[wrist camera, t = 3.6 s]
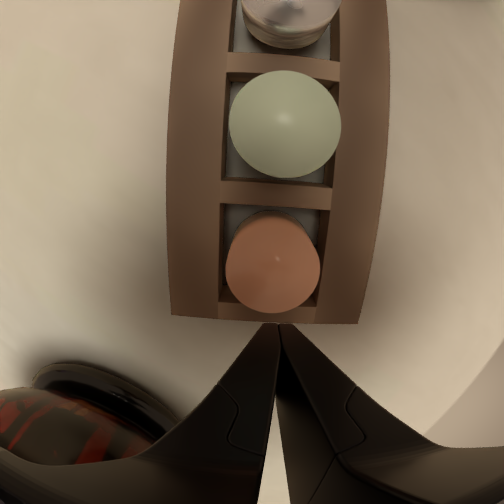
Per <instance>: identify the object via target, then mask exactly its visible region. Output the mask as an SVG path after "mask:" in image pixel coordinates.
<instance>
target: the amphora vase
mask: <svg viewBox="0 0 504 504" xmlns="http://www.w3.org/2000/svg"><path fill="white" fill-rule="evenodd" d="M179 422H180V421H179V420H178V419H177V418H176V417H175V416H174V415H173V414H172V413H171V412H170V411H169V410H168V409H167V408H166V407H165V406H163V405H162V404H160V403H159V402H158V401H156V400H155V399H154V398H153V397H151V396H150V395H149V394H147V393H146V392H144V391H142V390H140V389H138V388H137V387H135V386H133V385H131V384H130V383H128V382H126V381H125V380H123V379H120V378H118V377H115V376H113V375H111V374H108V373H106V372H104V371H101V370H99V369H95V368H91V367H87V366H84V365H80V364H62V363H55V364H52V365H49V366H46V367H43V368H42V369H41V370H40V371H39V372H38V373H37V375H36V376H35V377H34V378H33V384H32V388H29V387H20V388H13V389H6V390H1V391H0V447H2V448H3V449H5V450H7V451H9V452H10V453H12V454H14V455H16V456H17V457H19V458H21V459H23V460H26V461H28V462H32V463H35V464H41V465H48V466H62V465H76V464H86V463H95V462H103V461H111V460H117V459H124V458H129V457H132V456H135V455H137V454H139V453H141V452H143V451H145V450H146V449H148V448H149V447H150V446H152V445H153V444H154V443H156V442H157V441H158V440H159V439H160V438H162V437H163V436H164V435H165V434H166V433H168V432H169V431H170V430H171V429H172V428H173V427H175V426H176V425H177V424H178V423H179ZM0 504H5V503H4V502H3V501H1V500H0Z"/></svg>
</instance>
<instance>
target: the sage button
mask: <svg viewBox="0 0 504 504" xmlns="http://www.w3.org/2000/svg"><path fill="white" fill-rule="evenodd" d="M229 131H230V136H231V139H232V142H233V144H234V146H235V148H236V150H237V151H238V153H239V154H240V156H241V157H242V158H243V159H244V160H245V161H246V162H247V163H248V164H249V165H250V166H252V167H253V168H254V169H256V170H258V171H260V172H262V173H264V174H267V175H270V176H274V177H279V178H294V177H300V176H304V175H307V174H309V173H311V172H313V171H315V170H317V169H318V168H320V167H321V166H323V165H324V164H325V163H326V162H327V161H328V160H329V158H330V157H331V156H332V154H333V153H334V151H335V149H336V147H337V145H338V142H339V139H340V134H341V118H340V113H339V110H338V107H337V104H336V102H335V100H334V99H333V97H332V95H331V94H330V93H329V92H328V90H327V89H326V88H325V87H324V86H323V85H322V84H320V83H319V82H318V81H316V80H315V79H313V78H311V77H309V76H307V75H305V74H302V73H298V72H294V71H283V70H281V71H272V72H268V73H265V74H262V75H260V76H258V77H256V78H254V79H252V80H251V81H250V82H248V83H247V84H246V85H245V86H244V87H243V88H242V89H241V90H240V91H239V93H238V94H237V96H236V97H235V99H234V101H233V104H232V106H231V110H230V114H229Z"/></svg>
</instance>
